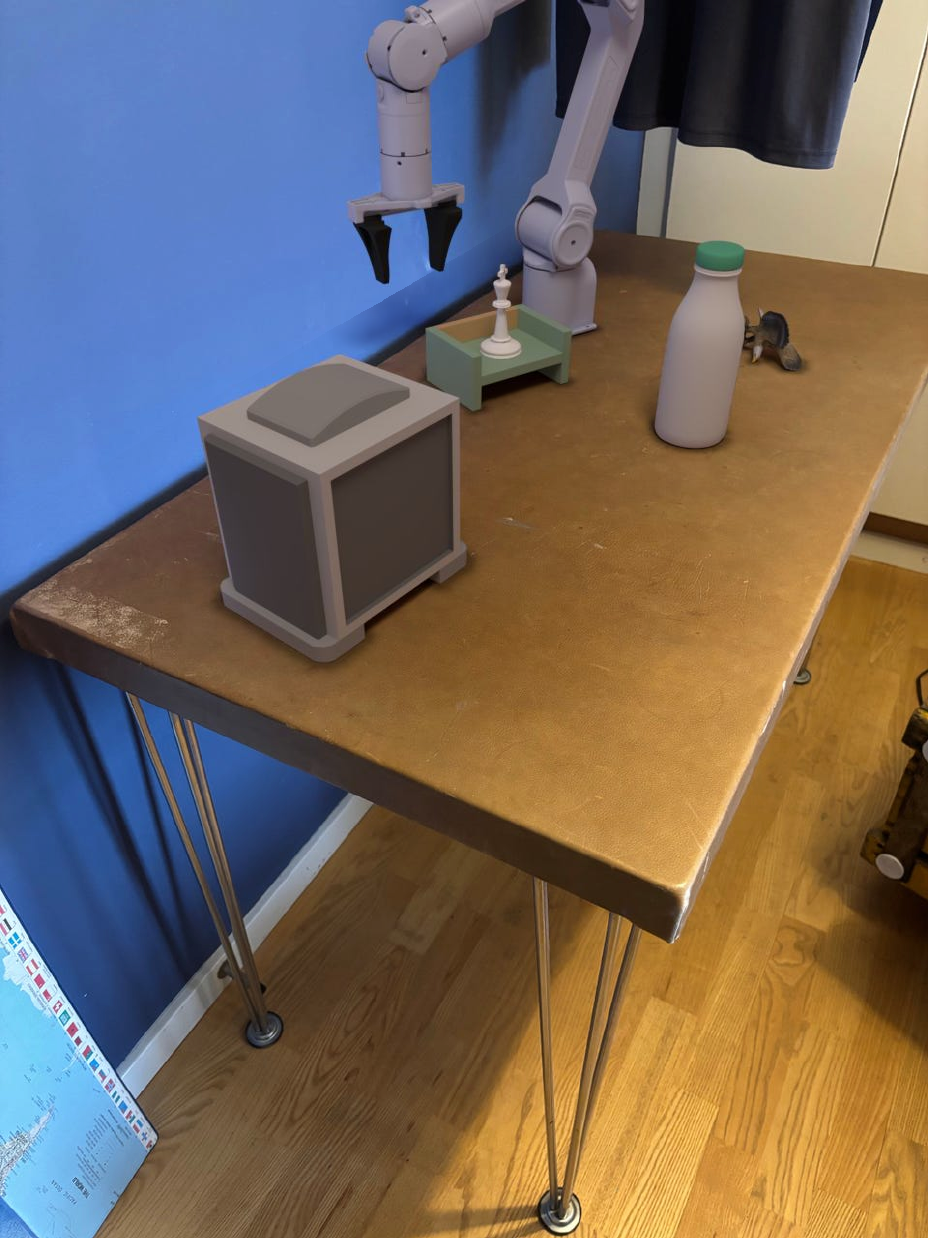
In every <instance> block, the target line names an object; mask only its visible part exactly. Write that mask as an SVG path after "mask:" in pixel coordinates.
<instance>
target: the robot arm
mask: <svg viewBox="0 0 928 1238" xmlns="http://www.w3.org/2000/svg"><path fill="white" fill-rule="evenodd" d="M525 1H526V0H427V1H425V2H424V3H422V4H421V5H419V6H418V7H417V6H416V5H413V4H412V5H410V6H408V7H407V8H405V9H404V13H405V15H404V17H403V20H402V21H400V20H396V19H388V20H385V21H382V22H381V23H380V24H378V25H377V26H376V27H375V29H373V31H372V33H373V34H372V35H371V36H370V37H369V41H368V45H367V50H365V51H364V60H365V64H366V66H367V69H368V70H369V71H368V72H369V73H371V75H372V76H373V78H374V79H375V87H376V88H375V89H376V111H377V130H378V131H377V132H378V148H379V149H378V150H379V164H380V165H379V166H380V167H379V168H380V183H381V184H380V185H381V186H380V187H381V190H380V191H377V192H375V193H371V194H369V195H365V196H363V197H359V198H355V199H353V200H348V201H346V211H347V212H346V213H347V220H348V221H350V222H352V225H353V227H354V228H355V231H356V232H357V233H358V235H359V237H360V239H361V241H362V243H363V245H364V247H365V249H366V252H367V255H368V257H369V260H370V263H371V266H372V271H373V274H374V278H375V280H376V281H377V282H379V283H380V284H382V285H387V284H388V285H389V284H390V277H391V275H390V274H391V271H390V243H391V236H392V231H393V228H392V227H391V226H389V225H387V224H386V223H385V220H384V219H383V218H384V217H388V216H393V215H399V214H404V213H409V212H413V211H420V210H423V213H424V216H425V223H426V229H427V236H428V237H427V238H428V260H429V268H431V269H433V270H435V271H436V272H438V273H440V272H444V271H445V265H446V261H447V256H448V253H449V250H450V246H451V242H452V240H453V237H454V235H455V232H456V230H457V228H458V226H459V224H460V223H461V221H462V219H463V208H462V207H460V206H458V205H462V204H465V202H466V197H465V195H466V193H465V192H466V190H465V189H466V187H465V185H464V184H461V183H459V182H456V181H455V182H454V181H453V182H447V183H436V184H435V183H434V184H433V172H432V171H433V169H432V167H433V166H432V128H431V127H432V124H431V122H432V121H431V88H430V87H431V85H432V84H433V82H434V81H435V79H436V77H437V75H438V73H439V70H440V68H442V67H443V66H444V65H446V64H447V63H449V62H451V61H453V60H454V59H455V58H457V57H459V56H460V55H462V54H463V53H465V52H466V51H468V50H469V49H471V48H473V47H475V46H476V45H477V44H479V43H480V42H482V41H483V40H485V39H487V38H488V37H489V35H490V33H491V31H492V26H493V22H494V19H495V18H497V17H498V16H500V15H502V14H503V13H505V12H508V11H509V10H511V9H513V8H515V7H517V6H518V5H519V4H522V3H523V2H525ZM576 1H577V2H578V4H579V5H580V6H581V8H582V10H583V12H584V14H585V15H584V16H585V17H586V19H587V22H588V25H589V27H590V34H589V36H588V40H587V44H586V46H585V50H584V52H583V56H582V60H581V63H580V66H579V69H578V73H577V76H576V79H575V82H574V85H573V89H572V92H571V95H570V99H569V102H568V105H567V108H566V112H565V115H564V117H563V121H562V125H561V128H560V131H559V135H558V138H557V141H556V144H555V148H554V151H553V154H552V157H551V161H550V163H549V167H548V171H547V173H546V174H545V175H544V176H542V177H541V178H540V179H539V180H537V181H536V182H535V183H534V184H533V185H532V186H531V189H530V192H529V195H528V197H527V200H526V201H525V203H524V204H522V206H521V208H520V209H519V211H518V212H517V214H516V217H515V220H514V235H515V238H516V240H517V242H518V243H519V245H521V246H522V256H523V266H522V267H523V268H522V269H523V270H522V289H521V290H522V291H521V296H522V297H521V304H523V305H525V306H526V307H528V308H530V309H532V310H534V311H536V312H538V313H540V314H542V315H544V316H546V317H548V318H550V319H551V320H553V321H555V322H557V323H559V324H561V325H563V326H565V327H567V328H569V329H571V330H572V336H575V335H579V334H583V333H586V332H589V331H592V330H596V329H597V328H598V326H597V325H598V324H597V323H594V317H595V316H594V315H595V307H596V297H597V296H596V294H597V282H598V280H597V272H596V269H595V266H594V263H593V261H592V260H591V259H590V258H589V257H588V255H589V254H590V252H591V249H592V246H593V242H594V223H595V218H596V216H597V212H598V209H597V205H596V203H595V200H594V197H593V195H592V193H591V185H592V182H593V179H594V176H595V173H596V169H597V166H598V163H599V160H600V157H601V154H602V151H603V148H604V146H605V142H606V140H607V136H608V134H609V130H610V127H611V124H612V121H613V118H614V116H615V112H616V110H617V109H616V108H617V106H618V103H619V100H620V97H621V94H622V91H623V88H624V84H625V81H626V79H627V76H628V73H629V69H630V66H631V63H632V61H633V57H634V54H635V52H636V48H637V46H638V42H639V40H640V36H641V33H642V31H643V26H644V17H645V0H576Z"/></svg>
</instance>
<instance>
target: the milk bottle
mask: <svg viewBox="0 0 928 1238" xmlns="http://www.w3.org/2000/svg"><path fill="white" fill-rule="evenodd" d="M745 256H746V249H745V248H744V246H742V245H741V244H738V243H736V242H732V241H728V240H708V241H703V242H701V243H699V244H698V245H697V247H696V251H695V256H694V261H695V262H694V265H693V269H694V270H695V272H694V277H693V280H692V283H691V285H690V286H689V288H688V290H687V292H686V294H685V295H684V297H683V299H682V301H681V302H680V304H679V305H678V307H677V309H676V310H675V313H674V315H673V316H672V320H671V323H670V326H669V328H668V329H669V330H668V335H667V340H666V346H665V351H664V357H663V358H664V359H663V365H662V370H661V377H660V382H659V383H660V385H659V389H658V390H659V391H658V397H657V404H656V406H657V407H656V412H655V417H654V419H655V420H654V429H655V432H656V434H657V436H658V437H659V438H660V439H662V440H663V441H664V442H666V443H669V444H670V445H673V446H677V447H681V448H688V449H704V448H709V447H713V446H715V445H717V444H719V443H720V442H721V441H722V440H723V439H724V437H725V436H726V432H727V428H728V424H729V419H730V415H731V409H732V404H733V399H734V396H735V395H734V394H735V391H736V390H735V388H736V385H737V380H738V373H739V371H740V370H739V369H740V364H741V359H742V354H743V341H744V331H745V315H744V311H743V308H742V303H741V299H740V295H739V283H738V281H739V275H740V274H741V273H742V271H743V265H744V261H745Z"/></svg>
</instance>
